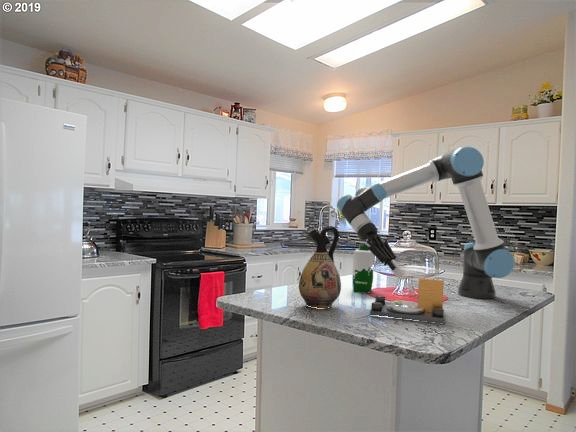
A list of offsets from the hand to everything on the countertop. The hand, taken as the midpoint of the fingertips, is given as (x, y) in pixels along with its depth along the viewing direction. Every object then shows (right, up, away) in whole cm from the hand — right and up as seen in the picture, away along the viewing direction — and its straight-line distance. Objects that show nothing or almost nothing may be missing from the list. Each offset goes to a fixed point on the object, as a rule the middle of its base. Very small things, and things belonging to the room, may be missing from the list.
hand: (401, 275), depth 160 cm
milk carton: (-9, -12, +34) cm, 37 cm away
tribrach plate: (0, -13, -6) cm, 14 cm away
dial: (+2, -11, -8) cm, 14 cm away
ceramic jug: (-29, -12, +2) cm, 31 cm away
